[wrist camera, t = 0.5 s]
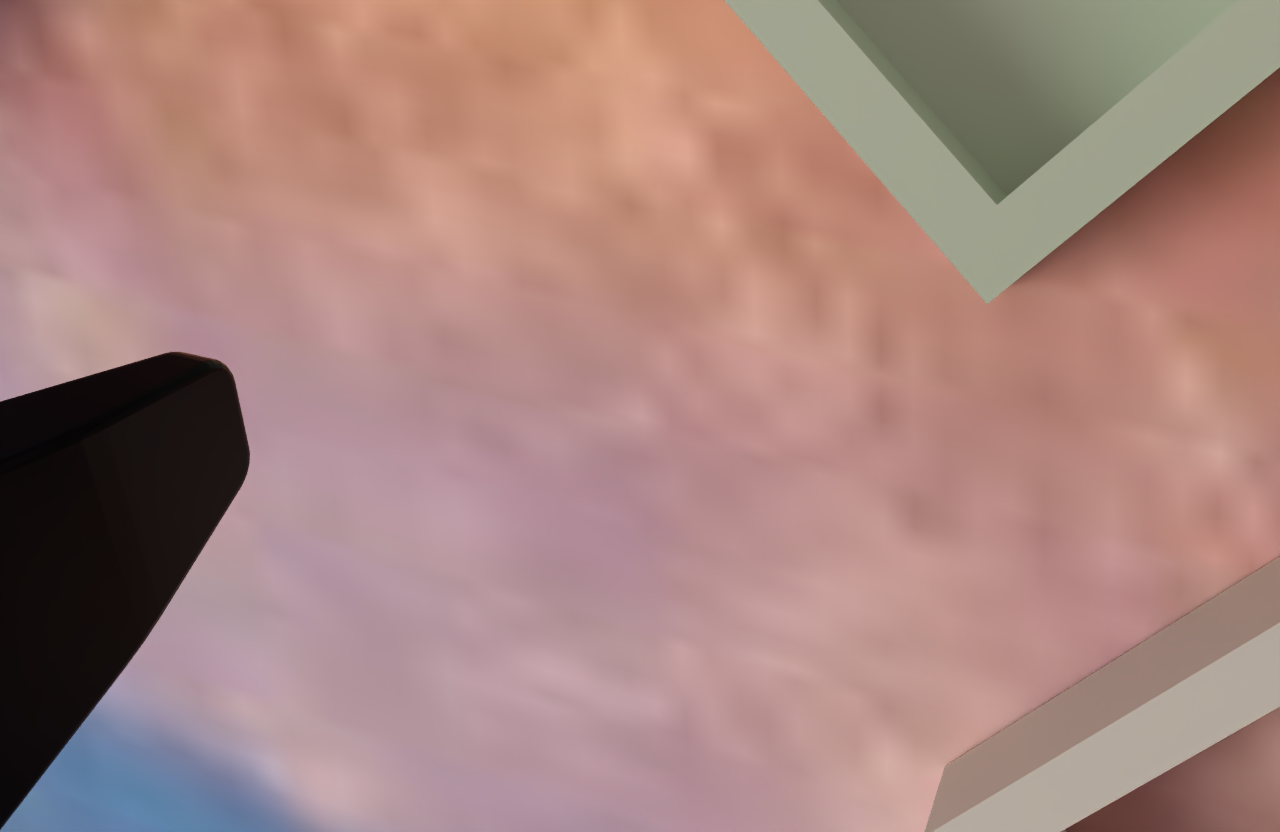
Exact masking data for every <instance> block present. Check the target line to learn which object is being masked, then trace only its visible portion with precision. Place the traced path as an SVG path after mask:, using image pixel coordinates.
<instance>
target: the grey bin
mask: <svg viewBox="0 0 1280 832" xmlns="http://www.w3.org/2000/svg"><path fill="white" fill-rule="evenodd" d="M1278 707H1280V556H1279V557H1278V558H1276V559H1275V560H1273V561H1271V562H1270V563H1268V564H1267V565H1265V566H1263V567H1262V568H1260V569H1259V570H1257V571H1255V572H1254V573H1252V574H1251V575H1249V576H1247V577H1246V578H1244V579H1243V580H1241V581H1239V582H1238V583H1236V584H1235V585H1233V586H1231V587H1230V588H1228V589H1227V590H1225V591H1223V592H1222V593H1220V594H1219V595H1217V596H1215V597H1214V598H1212V599H1211V600H1209V601H1208V602H1206V603H1204V604H1203V605H1201V606H1200V607H1198V608H1196V609H1195V610H1193V611H1192V612H1190V613H1188V614H1187V615H1185V616H1184V617H1182V618H1180V619H1179V620H1177V621H1176V622H1174V623H1172V624H1171V625H1169V626H1168V627H1166V628H1164V629H1163V630H1161V631H1160V632H1158V633H1156V634H1155V635H1153V636H1152V637H1150V638H1148V639H1147V640H1145V641H1144V642H1142V643H1140V644H1139V645H1137V646H1136V647H1134V648H1133V649H1131V650H1129V651H1128V652H1126V653H1125V654H1123V655H1121V656H1120V657H1118V658H1117V659H1115V660H1113V661H1112V662H1110V663H1109V664H1107V665H1105V666H1104V667H1102V668H1101V669H1099V670H1097V671H1096V672H1094V673H1093V674H1091V675H1089V676H1088V677H1086V678H1085V679H1083V680H1081V681H1080V682H1078V683H1077V684H1075V685H1073V686H1072V687H1070V688H1069V689H1067V690H1066V691H1064V692H1062V693H1061V694H1059V695H1058V696H1056V697H1054V698H1053V699H1051V700H1050V701H1048V702H1046V703H1045V704H1043V705H1042V706H1040V707H1038V708H1037V709H1035V710H1034V711H1032V712H1030V713H1029V714H1027V715H1026V716H1024V717H1022V718H1021V719H1019V720H1018V721H1016V722H1014V723H1013V724H1011V725H1010V726H1008V727H1006V728H1005V729H1003V730H1002V731H1000V732H998V733H997V734H995V735H994V736H992V737H991V738H989V739H987V740H986V741H984V742H983V743H981V744H979V745H978V746H976V747H975V748H973V749H971V750H970V751H968V752H967V753H965V754H963V755H962V756H960V757H959V758H957V759H955V760H954V761H952V762H951V763H949V764H947V765H946V766H945V768H944V771H943V774H942V777H941V781H940V784H939V787H938V790H937V794H936V797H935V800H934V803H933V807H932V810H931V813H930V816H929V820H928V823H927V826H926V829H925V832H1067V831H1066V830H1065V829H1066V828H1068V827H1070V826H1072V825H1073V824H1075V823H1077V822H1079V821H1080V820H1082V819H1084V818H1086V817H1087V816H1089V815H1091V814H1093V813H1094V812H1096V811H1098V810H1100V809H1101V808H1103V807H1105V806H1107V805H1108V804H1110V803H1112V802H1114V801H1115V800H1117V799H1119V798H1121V797H1122V796H1124V795H1126V794H1128V793H1129V792H1131V791H1133V790H1135V789H1136V788H1138V787H1140V786H1142V785H1143V784H1145V783H1147V782H1149V781H1150V780H1152V779H1154V778H1156V777H1157V776H1159V775H1161V774H1163V773H1164V772H1166V771H1168V770H1170V769H1171V768H1173V767H1175V766H1177V765H1178V764H1180V763H1182V762H1184V761H1185V760H1187V759H1189V758H1191V757H1192V756H1194V755H1196V754H1198V753H1199V752H1201V751H1203V750H1205V749H1206V748H1208V747H1210V746H1212V745H1213V744H1215V743H1217V742H1219V741H1220V740H1222V739H1224V738H1226V737H1227V736H1229V735H1231V734H1233V733H1234V732H1236V731H1238V730H1240V729H1242V728H1243V727H1245V726H1247V725H1249V724H1250V723H1252V722H1254V721H1256V720H1257V719H1259V718H1261V717H1263V716H1264V715H1266V714H1268V713H1270V712H1271V711H1273V710H1275V709H1277V708H1278Z"/></svg>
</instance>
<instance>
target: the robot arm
mask: <svg viewBox="0 0 1280 832" xmlns="http://www.w3.org/2000/svg"><path fill="white" fill-rule="evenodd" d="M249 460H250V451H249V445H248V440H247V435H246V431H245V426H244V421H243V417H242V412H241V407H240V403H239V398H238V393H237V389H236V384H235V380H234V377H233V374H232V373H231V371H230V370H229V368H228V367H227V366H226V365H225V364H223V363H222V362H220V361H218V360H215V359H211V358H206V357H202V356H197V355H193V354H188V353H183V352H169V353H165V354H161V355H158V356H154V357H151V358H148V359H144V360H141V361H137V362H134V363H131V364H127V365H124V366H120V367H117V368H114V369H110V370H107V371H103V372H100V373H97V374H93V375H90V376H86V377H83V378H79V379H76V380H73V381H69V382H66V383H62V384H59V385H56V386H52V387H49V388H45V389H42V390H39V391H35V392H32V393H28V394H25V395H22V396H18V397H15V398H11V399H8V400H4V401H1V402H0V830H1V828H2V827H3V826H4V825H5V823H6V822H7V821H8V819H9V818H10V817H11V815H12V814H13V813H14V812H15V810H16V809H17V808H18V806H19V805H20V804H21V802H22V801H23V800H24V799H25V797H26V796H27V795H28V793H29V792H30V791H31V789H32V788H33V787H34V786H35V784H36V783H37V782H38V780H39V779H40V778H41V776H42V775H43V774H44V773H45V771H46V770H47V769H48V767H49V766H50V765H51V763H52V762H53V761H54V760H55V758H56V757H57V756H58V754H59V753H60V752H61V750H62V749H63V748H64V747H65V745H66V744H67V743H68V741H69V740H70V739H71V737H72V736H73V735H74V734H75V732H76V731H77V730H78V728H79V727H80V726H81V724H82V723H83V722H84V721H85V719H86V718H87V717H88V715H89V714H90V713H91V712H92V710H93V709H94V708H95V706H96V705H97V704H98V702H99V701H100V700H101V699H102V697H103V696H104V695H105V693H106V692H107V691H108V689H109V688H110V687H111V686H112V684H113V683H114V682H115V680H116V679H117V678H118V676H119V675H120V674H121V673H122V671H123V670H124V669H125V667H126V666H127V665H128V663H129V662H130V660H131V659H132V658H133V656H134V655H135V654H136V652H137V651H138V649H139V648H140V647H141V645H142V644H143V643H144V641H145V640H146V638H147V637H148V635H149V634H150V632H151V631H152V629H153V627H154V626H155V624H156V623H157V621H158V620H159V618H160V617H161V615H162V614H163V612H164V611H165V609H166V607H167V606H168V604H169V602H170V601H171V599H172V598H173V596H174V594H175V593H176V591H177V590H178V588H179V586H180V585H181V583H182V581H183V580H184V578H185V577H186V575H187V573H188V572H189V570H190V569H191V567H192V565H193V564H194V562H195V561H196V559H197V557H198V556H199V554H200V552H201V551H202V549H203V548H204V546H205V544H206V543H207V541H208V540H209V538H210V536H211V535H212V533H213V532H214V530H215V528H216V527H217V525H218V523H219V522H220V520H221V519H222V517H223V515H224V514H225V512H226V511H227V509H228V507H229V506H230V504H231V503H232V501H233V499H234V498H235V496H236V494H237V493H238V491H239V490H240V488H241V486H242V484H243V482H244V480H245V477H246V475H247V472H248V467H249Z"/></svg>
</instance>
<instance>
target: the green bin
mask: <svg viewBox="0 0 1280 832" xmlns="http://www.w3.org/2000/svg"><path fill="white" fill-rule="evenodd" d="M725 2H726V3H727V4H728V5H729V6H730V7H731V9H732V10H733V11H734V12H735V13H736V14H737V16H738V17H739V18H740V19H741V20H742V21H743V22H744V24H745V25H746V26H747V27H748V28H749V29H750V31H751V32H752V33H753V34H754V35H755V36H756V37H757V39H758V40H759V41H760V42H761V43H762V44H763V46H764V47H765V48H766V49H767V50H768V51H769V53H770V54H771V55H772V56H773V57H774V58H775V59H776V61H777V62H778V63H779V64H780V65H781V66H782V68H783V69H784V70H785V71H786V72H787V73H788V74H789V76H790V77H791V78H792V79H793V80H794V81H795V83H796V84H797V85H798V86H799V87H800V88H801V90H802V91H803V92H804V93H805V94H806V95H807V96H808V98H809V99H810V100H811V101H812V102H813V103H814V105H815V106H816V107H817V108H818V109H819V110H820V111H821V113H822V114H823V115H824V116H825V117H826V118H827V120H828V121H829V122H830V123H831V124H832V125H833V127H834V128H835V129H836V130H837V131H838V132H839V133H840V135H841V136H842V137H843V138H844V139H845V140H846V142H847V143H848V144H849V145H850V146H851V147H852V148H853V150H854V151H855V152H856V153H857V154H858V155H859V157H860V158H861V159H862V160H863V161H864V162H865V164H866V165H867V166H868V167H869V168H870V169H871V170H872V172H873V173H874V174H875V175H876V176H877V177H878V179H879V180H880V181H881V182H882V183H883V184H884V185H885V187H886V188H887V189H888V190H889V191H890V192H891V194H892V195H893V196H894V197H895V198H896V199H897V201H898V202H899V203H900V204H901V205H902V206H903V207H904V209H905V210H906V211H907V212H908V213H909V214H910V216H911V217H912V218H913V219H914V220H915V221H916V222H917V224H918V225H919V226H920V227H921V228H922V229H923V231H924V232H925V233H926V234H927V235H928V236H929V238H930V239H931V240H932V241H933V242H934V243H935V244H936V246H937V247H938V248H939V249H940V250H941V251H942V253H943V254H944V255H945V256H946V257H947V258H948V259H949V261H950V262H951V263H952V264H953V265H954V266H955V268H956V269H957V270H958V271H959V272H960V273H961V275H962V276H963V277H964V278H965V279H966V280H967V281H968V283H969V284H970V285H971V286H972V287H973V288H974V290H975V291H976V292H977V293H978V294H979V295H980V296H981V298H982V299H983V300H984V301H985V302H986V303H987V304H988V303H989V302H990V301H991V300H993V299H994V298H995V297H996V296H998V295H999V294H1000V293H1001V292H1003V291H1004V290H1005V289H1006V288H1008V287H1009V286H1010V285H1011V284H1013V283H1014V282H1015V281H1016V280H1017V279H1019V278H1020V277H1021V276H1022V275H1024V274H1025V273H1026V272H1027V271H1029V270H1030V269H1031V268H1032V267H1034V266H1035V265H1036V264H1037V263H1038V262H1040V261H1041V260H1042V259H1043V258H1045V257H1046V256H1047V255H1048V254H1050V253H1051V252H1052V251H1053V250H1055V249H1056V248H1057V247H1058V246H1059V245H1061V244H1062V243H1063V242H1064V241H1066V240H1067V239H1068V238H1069V237H1071V236H1072V235H1073V234H1074V233H1076V232H1077V231H1078V230H1079V229H1080V228H1082V227H1083V226H1084V225H1085V224H1087V223H1088V222H1089V221H1090V220H1092V219H1093V218H1094V217H1095V216H1097V215H1098V214H1099V213H1100V212H1101V211H1103V210H1104V209H1105V208H1106V207H1108V206H1109V205H1110V204H1111V203H1113V202H1114V201H1115V200H1116V199H1118V198H1119V197H1120V196H1121V195H1122V194H1124V193H1125V192H1126V191H1127V190H1129V189H1130V188H1131V187H1132V186H1134V185H1135V184H1136V183H1137V182H1139V181H1140V180H1141V179H1142V178H1144V177H1145V176H1146V175H1147V174H1148V173H1150V172H1151V171H1152V170H1153V169H1155V168H1156V167H1157V166H1158V165H1160V164H1161V163H1162V162H1163V161H1165V160H1166V159H1167V158H1168V157H1169V156H1171V155H1172V154H1173V153H1174V152H1176V151H1177V150H1178V149H1179V148H1181V147H1182V146H1183V145H1184V144H1186V143H1187V142H1188V141H1189V140H1190V139H1192V138H1193V137H1194V136H1195V135H1197V134H1198V133H1199V132H1200V131H1202V130H1203V129H1204V128H1205V127H1207V126H1208V125H1209V124H1210V123H1211V122H1213V121H1214V120H1215V119H1216V118H1218V117H1219V116H1220V115H1221V114H1223V113H1224V112H1225V111H1226V110H1228V109H1229V108H1230V107H1231V106H1232V105H1234V104H1235V103H1236V102H1237V101H1239V100H1240V99H1241V98H1242V97H1244V96H1245V95H1246V94H1247V93H1249V92H1250V91H1251V90H1252V89H1254V88H1255V87H1256V86H1257V85H1258V84H1260V83H1261V82H1262V81H1263V80H1265V79H1266V78H1267V77H1268V76H1270V75H1271V74H1272V73H1273V72H1275V71H1276V70H1277V69H1278V68H1279V67H1280V0H725Z"/></svg>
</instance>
